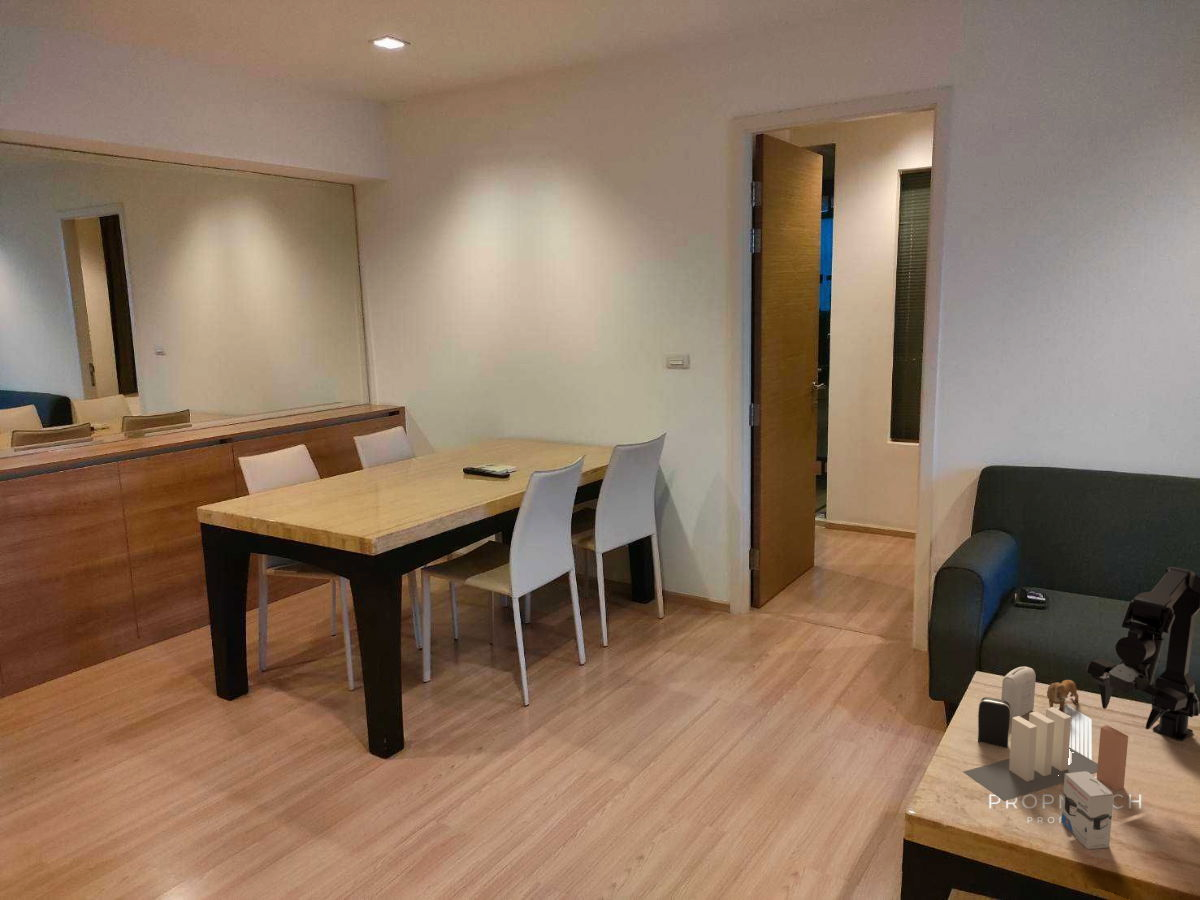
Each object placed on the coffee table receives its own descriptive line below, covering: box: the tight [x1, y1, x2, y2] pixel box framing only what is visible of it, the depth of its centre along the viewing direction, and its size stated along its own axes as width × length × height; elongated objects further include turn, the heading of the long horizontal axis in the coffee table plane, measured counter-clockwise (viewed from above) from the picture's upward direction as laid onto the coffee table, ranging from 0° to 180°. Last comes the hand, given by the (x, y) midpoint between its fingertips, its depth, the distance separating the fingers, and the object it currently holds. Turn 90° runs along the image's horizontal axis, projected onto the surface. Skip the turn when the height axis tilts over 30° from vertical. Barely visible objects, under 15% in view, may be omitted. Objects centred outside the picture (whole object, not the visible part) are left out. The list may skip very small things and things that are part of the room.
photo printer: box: [1000, 666, 1037, 720], centre depth 215 cm, size 10×4×12 cm, turn 123°
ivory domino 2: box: [1028, 711, 1055, 776], centre depth 189 cm, size 2×5×13 cm, turn 19°
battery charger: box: [977, 696, 1011, 749], centre depth 201 cm, size 7×4×11 cm, turn 60°
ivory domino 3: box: [1045, 706, 1072, 771], centre depth 190 cm, size 2×5×13 cm, turn 20°
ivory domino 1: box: [1009, 716, 1037, 781], centre depth 187 cm, size 2×5×13 cm, turn 20°
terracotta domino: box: [1096, 724, 1129, 791], centre depth 183 cm, size 2×5×13 cm, turn 20°
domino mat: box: [963, 746, 1098, 802], centre depth 190 cm, size 30×12×1 cm, turn 110°
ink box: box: [1061, 771, 1114, 850], centre depth 167 cm, size 8×5×12 cm, turn 5°
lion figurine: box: [1046, 679, 1079, 713], centre depth 217 cm, size 15×5×9 cm, turn 136°
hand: (1125, 718), depth 186 cm, fingers open, 9 cm apart
